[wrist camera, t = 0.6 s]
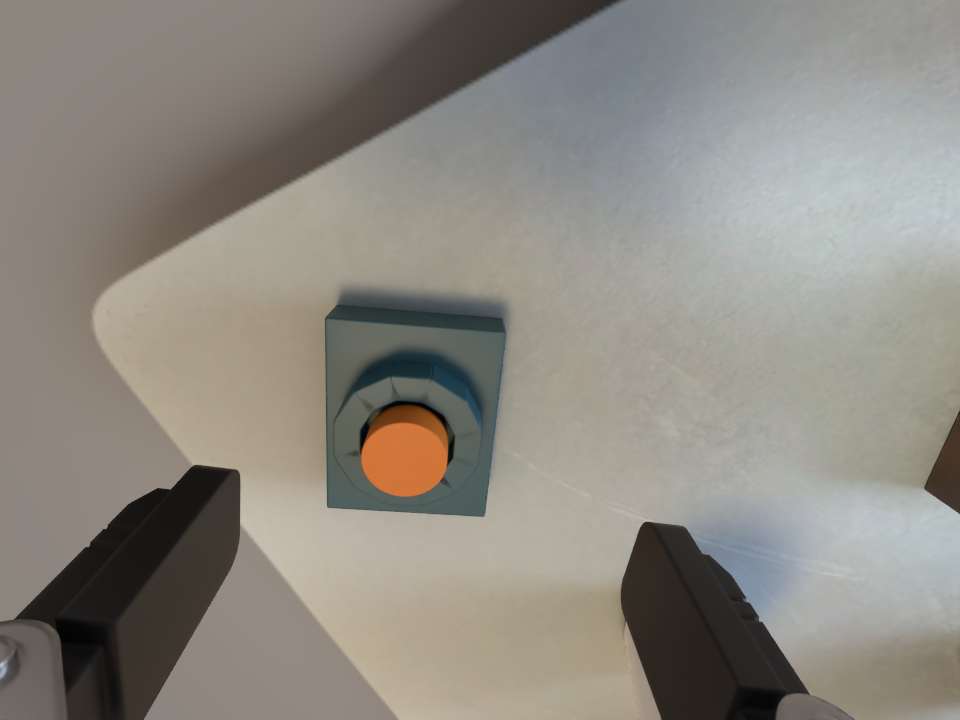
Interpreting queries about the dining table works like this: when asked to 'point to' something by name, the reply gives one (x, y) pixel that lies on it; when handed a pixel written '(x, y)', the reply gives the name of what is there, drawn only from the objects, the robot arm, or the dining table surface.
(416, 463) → the push button
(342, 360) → the button block
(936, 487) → the dial panel
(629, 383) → the dining table surface
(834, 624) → the dining table surface
